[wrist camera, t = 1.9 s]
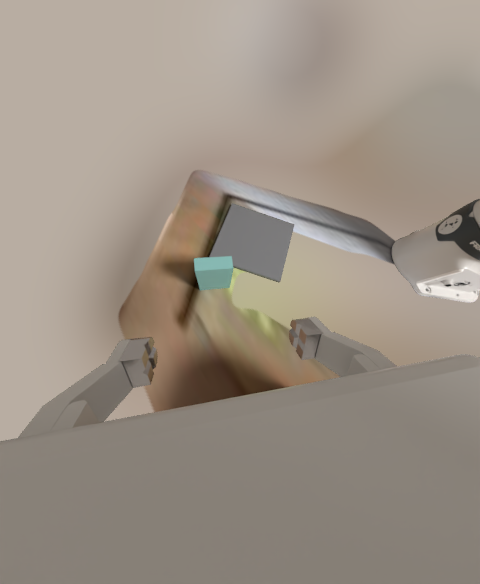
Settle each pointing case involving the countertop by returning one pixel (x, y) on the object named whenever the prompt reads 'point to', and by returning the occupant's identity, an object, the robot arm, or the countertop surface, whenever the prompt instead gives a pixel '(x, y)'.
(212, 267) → the teal board
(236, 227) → the mat
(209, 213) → the countertop surface
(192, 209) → the countertop surface
